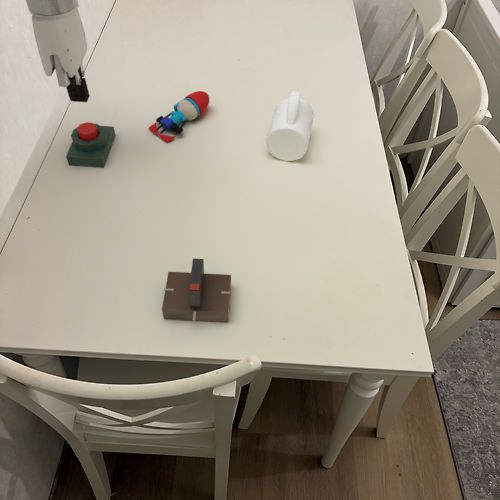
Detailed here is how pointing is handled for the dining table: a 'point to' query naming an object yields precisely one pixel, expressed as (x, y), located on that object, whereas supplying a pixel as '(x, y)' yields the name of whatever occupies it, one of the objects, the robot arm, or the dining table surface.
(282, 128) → the mug
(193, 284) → the bar knob
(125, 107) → the dining table surface
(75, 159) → the button box
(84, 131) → the button
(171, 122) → the toy figure
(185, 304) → the knob base block
